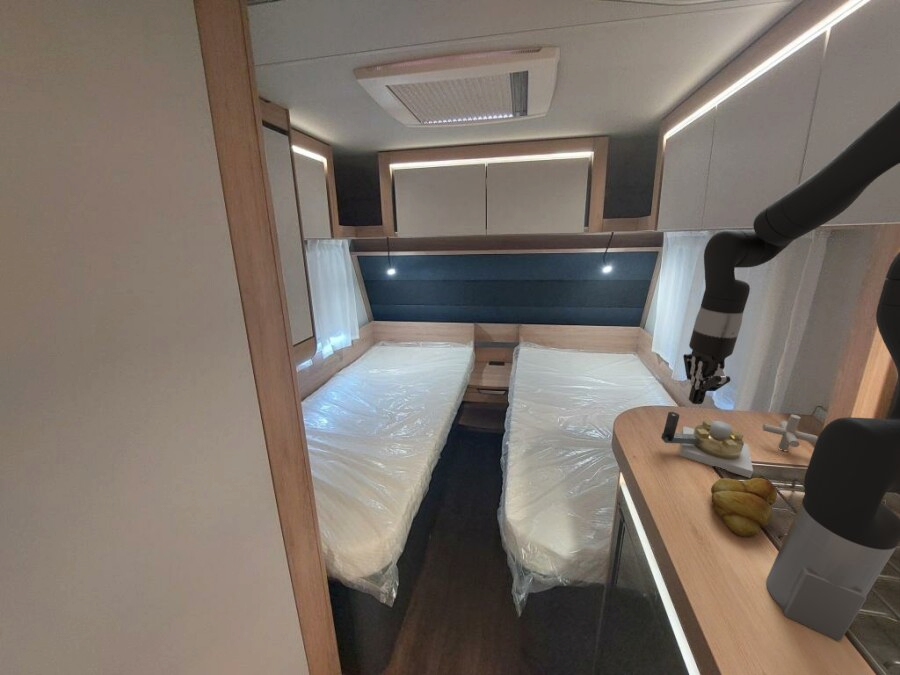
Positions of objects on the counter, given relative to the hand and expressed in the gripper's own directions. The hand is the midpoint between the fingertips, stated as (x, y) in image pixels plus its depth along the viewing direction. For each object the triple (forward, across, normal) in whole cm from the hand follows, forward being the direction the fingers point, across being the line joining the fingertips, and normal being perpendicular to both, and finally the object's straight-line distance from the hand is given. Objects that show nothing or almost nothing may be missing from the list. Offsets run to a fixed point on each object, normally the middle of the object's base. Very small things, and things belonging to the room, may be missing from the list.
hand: (695, 402), depth 77 cm
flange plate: (+18, +6, -12) cm, 22 cm away
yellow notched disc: (+16, +6, -8) cm, 19 cm away
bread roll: (+18, -14, -4) cm, 24 cm away
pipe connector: (+18, +9, -31) cm, 37 cm away
